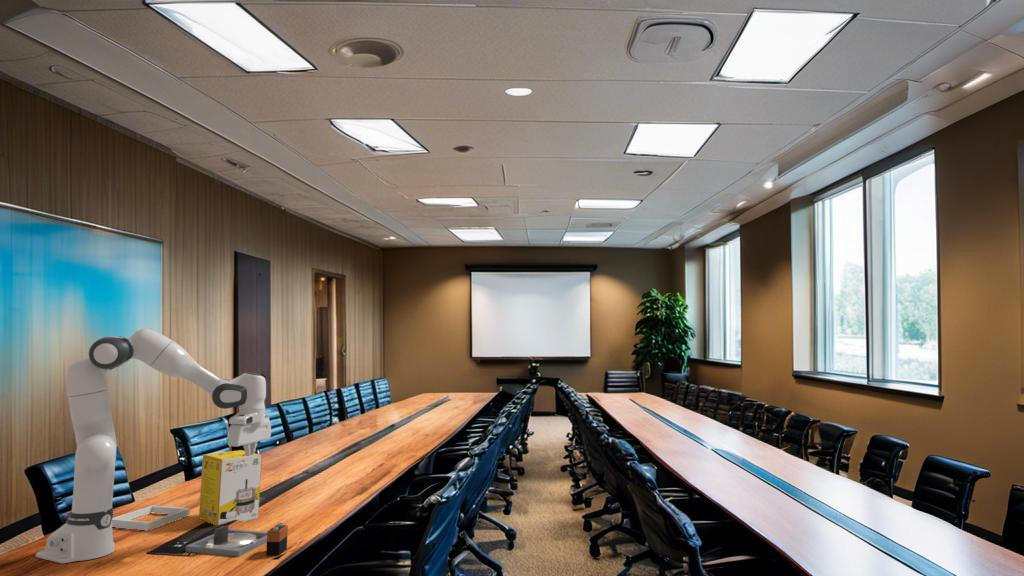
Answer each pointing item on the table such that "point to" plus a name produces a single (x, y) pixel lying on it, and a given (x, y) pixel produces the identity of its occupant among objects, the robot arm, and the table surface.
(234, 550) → the panel
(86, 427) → the robot arm
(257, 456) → the packaging box
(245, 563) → the table surface
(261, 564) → the table surface
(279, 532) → the battery
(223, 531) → the dial
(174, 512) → the light grey rectangular frame
